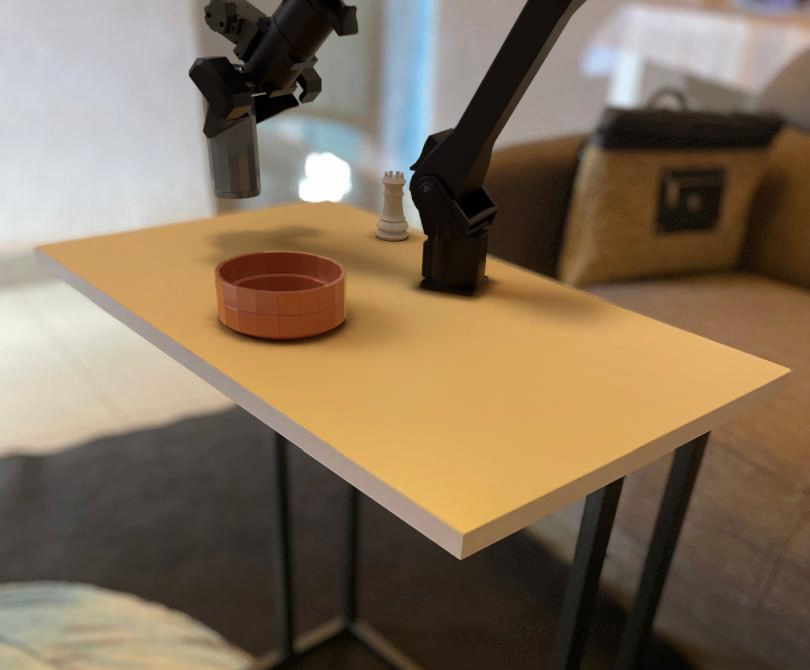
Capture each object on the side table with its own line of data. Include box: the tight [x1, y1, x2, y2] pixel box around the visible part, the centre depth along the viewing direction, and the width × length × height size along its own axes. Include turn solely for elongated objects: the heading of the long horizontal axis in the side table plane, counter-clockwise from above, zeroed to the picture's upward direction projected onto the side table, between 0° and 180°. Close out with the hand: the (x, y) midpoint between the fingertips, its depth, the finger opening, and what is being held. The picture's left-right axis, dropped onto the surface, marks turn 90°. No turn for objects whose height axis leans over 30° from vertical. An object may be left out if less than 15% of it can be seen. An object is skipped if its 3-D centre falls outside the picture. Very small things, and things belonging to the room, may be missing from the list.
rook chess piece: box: [375, 170, 410, 242], centre depth 110 cm, size 4×4×8 cm
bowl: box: [213, 250, 348, 341], centre depth 85 cm, size 13×13×5 cm
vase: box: [201, 62, 262, 200], centre depth 101 cm, size 6×6×14 cm
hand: (223, 131), depth 101 cm, fingers closed on vase, 6 cm apart
